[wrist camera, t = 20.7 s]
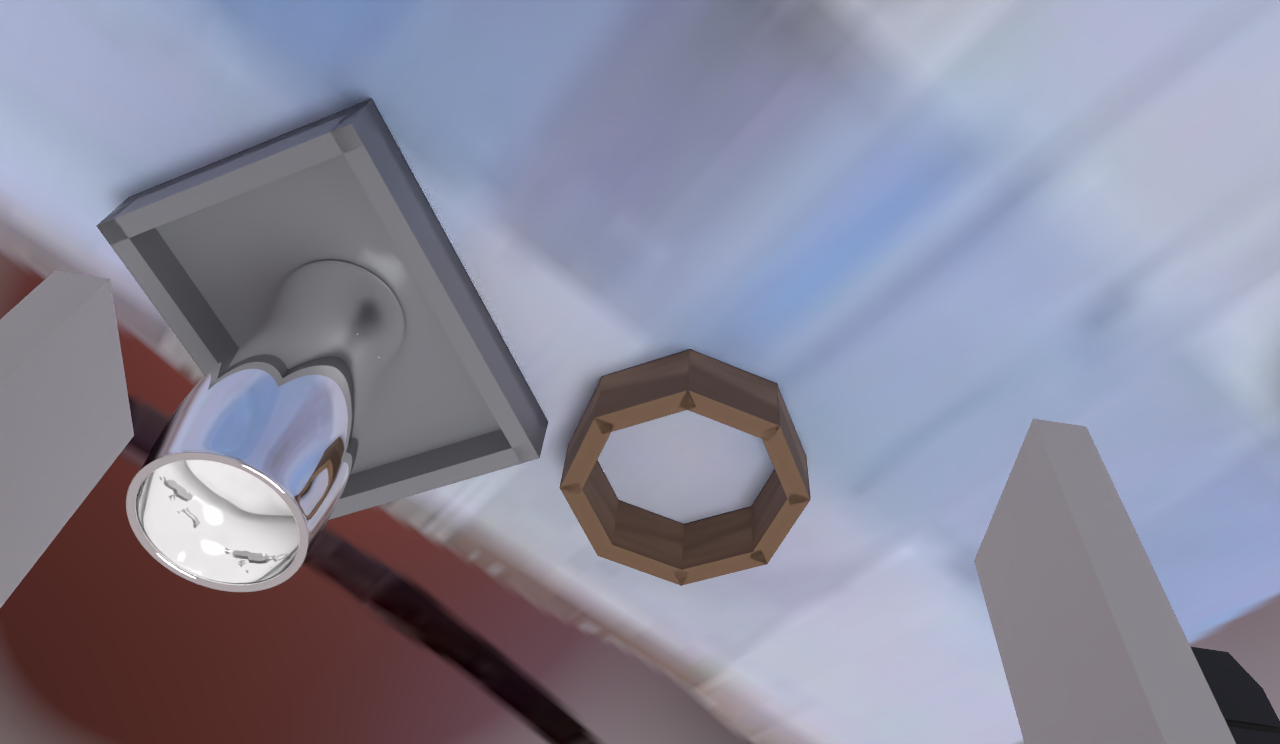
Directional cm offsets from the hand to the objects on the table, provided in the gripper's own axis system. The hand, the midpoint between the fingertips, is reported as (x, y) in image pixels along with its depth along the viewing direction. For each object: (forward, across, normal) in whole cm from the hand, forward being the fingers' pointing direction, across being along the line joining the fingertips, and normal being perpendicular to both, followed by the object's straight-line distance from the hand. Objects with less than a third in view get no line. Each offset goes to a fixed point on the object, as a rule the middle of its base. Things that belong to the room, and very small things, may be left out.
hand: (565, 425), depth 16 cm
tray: (+32, -13, -19) cm, 39 cm away
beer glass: (+31, -13, -18) cm, 38 cm away
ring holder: (+32, +5, -24) cm, 40 cm away
